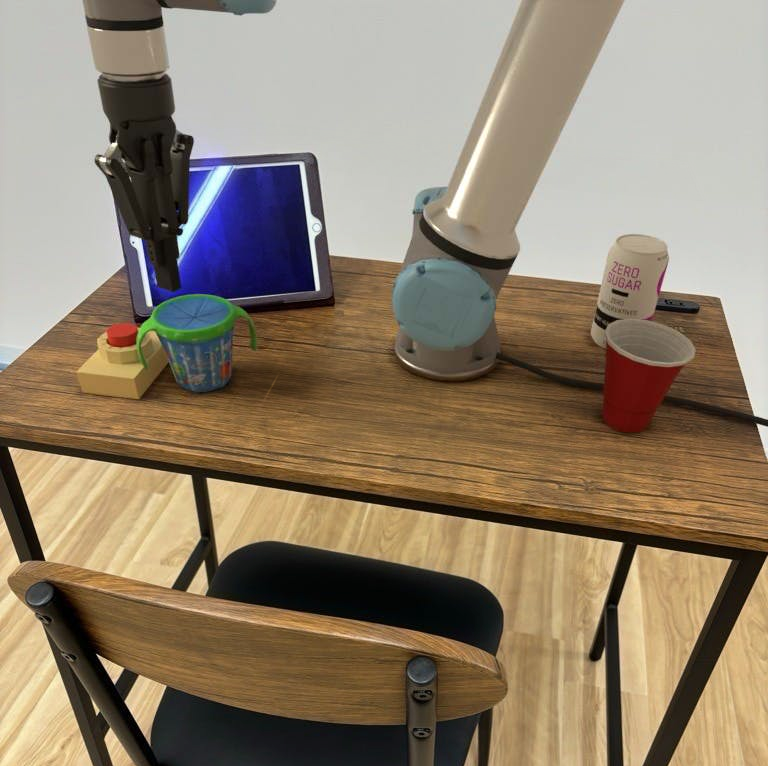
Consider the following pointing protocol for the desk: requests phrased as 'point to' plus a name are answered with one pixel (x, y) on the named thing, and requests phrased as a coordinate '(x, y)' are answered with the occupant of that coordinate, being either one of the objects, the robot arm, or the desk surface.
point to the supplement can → (630, 282)
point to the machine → (122, 368)
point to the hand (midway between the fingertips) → (169, 287)
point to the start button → (122, 335)
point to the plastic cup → (640, 370)
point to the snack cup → (197, 339)
